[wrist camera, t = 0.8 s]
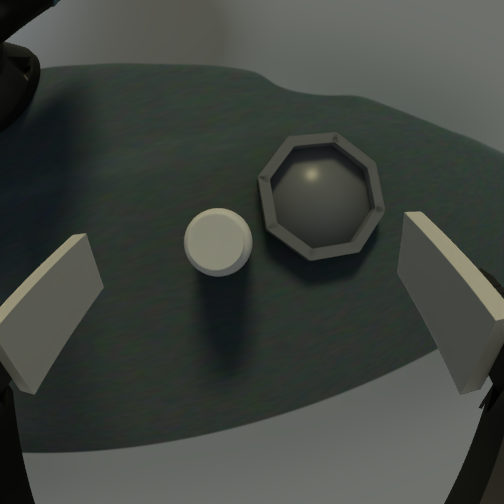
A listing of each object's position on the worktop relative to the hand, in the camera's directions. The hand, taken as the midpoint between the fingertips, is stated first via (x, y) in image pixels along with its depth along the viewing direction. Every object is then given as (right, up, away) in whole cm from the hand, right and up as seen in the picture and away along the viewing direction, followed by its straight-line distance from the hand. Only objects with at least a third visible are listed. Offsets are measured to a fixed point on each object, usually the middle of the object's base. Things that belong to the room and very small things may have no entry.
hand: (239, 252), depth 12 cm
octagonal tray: (+8, +6, +25) cm, 27 cm away
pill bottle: (-3, +1, +24) cm, 25 cm away
